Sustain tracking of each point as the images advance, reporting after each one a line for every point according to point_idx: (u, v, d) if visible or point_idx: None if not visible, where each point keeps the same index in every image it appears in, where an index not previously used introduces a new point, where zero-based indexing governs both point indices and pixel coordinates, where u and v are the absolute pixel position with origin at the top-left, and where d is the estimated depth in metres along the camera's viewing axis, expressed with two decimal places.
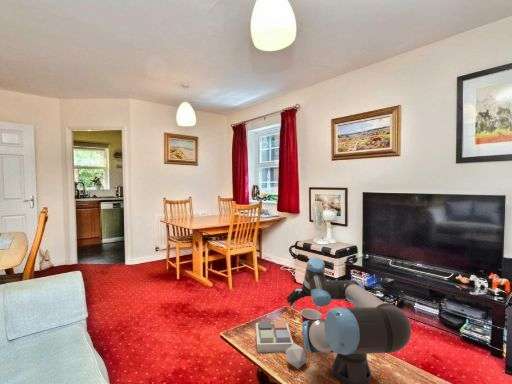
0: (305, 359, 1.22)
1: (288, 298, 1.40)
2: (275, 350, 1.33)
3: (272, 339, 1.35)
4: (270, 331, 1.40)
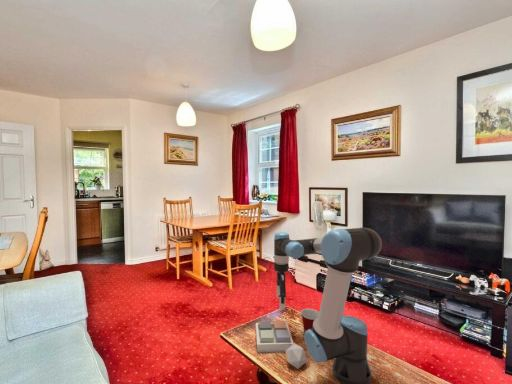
0: (305, 359, 1.22)
1: (283, 293, 1.37)
2: (275, 350, 1.33)
3: (272, 339, 1.35)
4: (270, 331, 1.40)
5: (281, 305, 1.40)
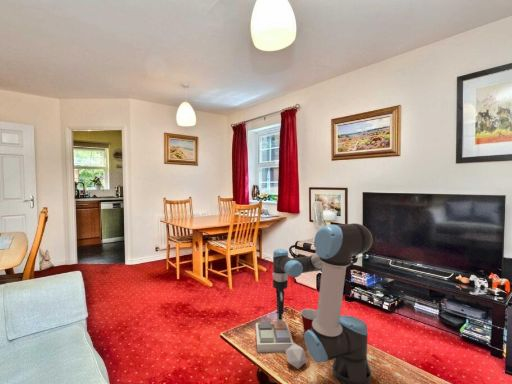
0: (305, 359, 1.22)
1: (281, 311, 1.43)
2: (275, 350, 1.33)
3: (272, 339, 1.35)
4: (270, 331, 1.40)
5: (279, 321, 1.47)
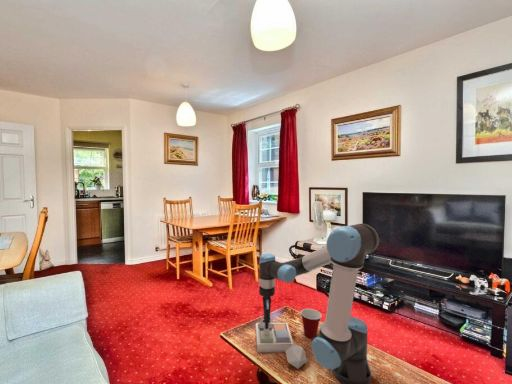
0: (305, 359, 1.22)
1: (267, 320, 1.34)
2: (275, 350, 1.33)
3: (272, 340, 1.35)
4: (270, 332, 1.40)
5: (265, 330, 1.37)
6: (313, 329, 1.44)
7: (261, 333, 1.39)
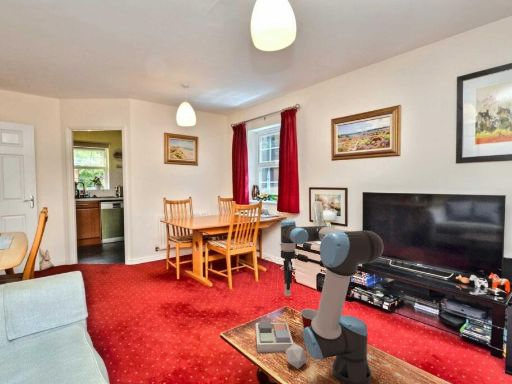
0: (305, 359, 1.22)
1: (289, 281, 1.43)
2: (275, 350, 1.33)
3: (272, 342, 1.35)
4: (270, 334, 1.40)
5: (287, 291, 1.46)
6: None
7: (261, 335, 1.39)
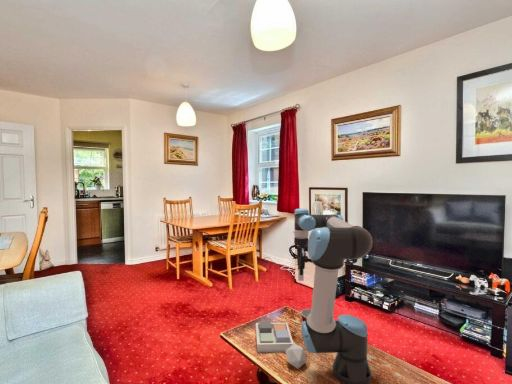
0: (305, 359, 1.22)
1: (302, 266, 1.50)
2: (275, 350, 1.33)
3: (272, 342, 1.35)
4: (270, 334, 1.40)
5: (300, 277, 1.54)
6: None
7: (261, 335, 1.39)
